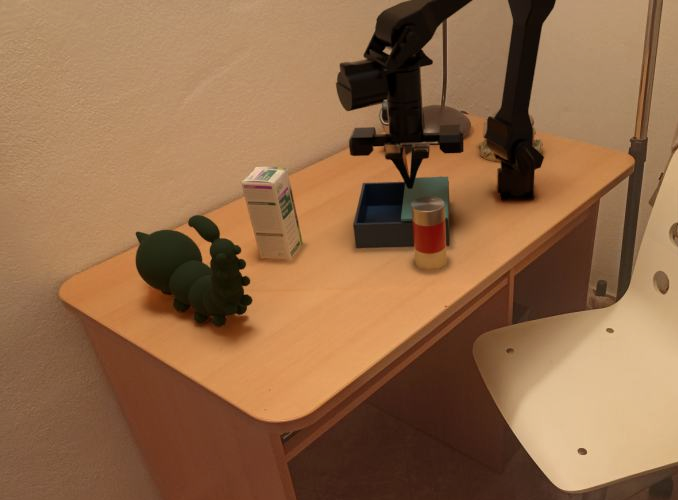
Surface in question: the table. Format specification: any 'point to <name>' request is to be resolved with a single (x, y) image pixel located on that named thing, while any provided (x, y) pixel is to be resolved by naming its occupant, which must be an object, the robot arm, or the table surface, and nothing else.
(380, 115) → the watch
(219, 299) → the toy figurine
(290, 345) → the table surface
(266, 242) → the syrup box
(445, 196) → the lid
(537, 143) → the ceramic model
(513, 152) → the robot arm
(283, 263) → the table surface
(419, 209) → the can
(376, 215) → the dark blue open box
